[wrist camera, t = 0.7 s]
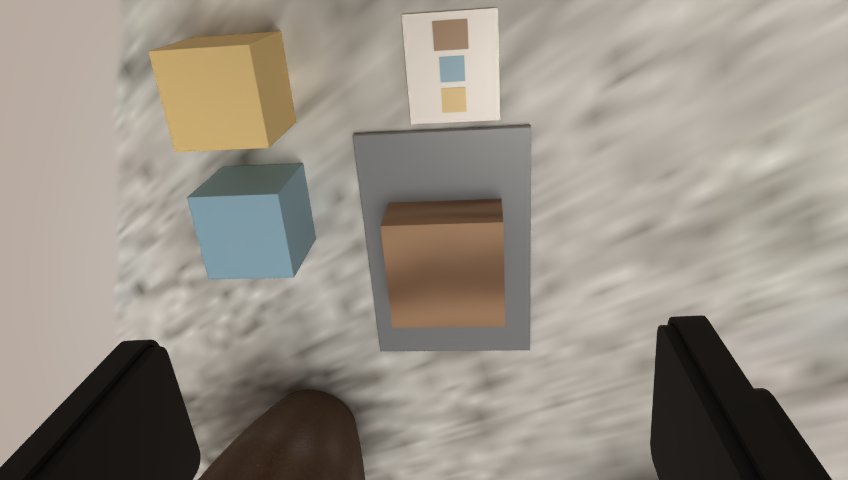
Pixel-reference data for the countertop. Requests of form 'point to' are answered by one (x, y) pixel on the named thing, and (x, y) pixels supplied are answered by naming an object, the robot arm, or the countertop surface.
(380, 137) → the grey flat board
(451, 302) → the walnut base brick
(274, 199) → the blue brick
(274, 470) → the plant pot
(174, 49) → the ochre brick
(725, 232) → the countertop surface
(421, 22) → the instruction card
